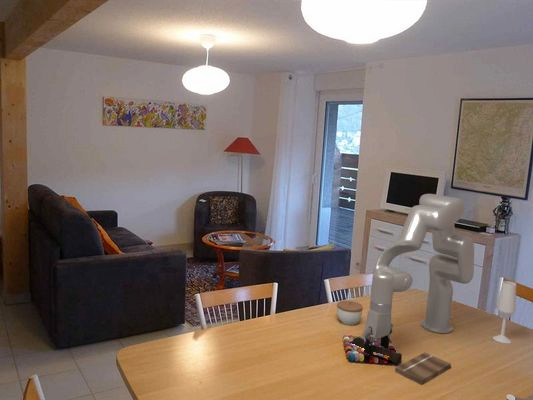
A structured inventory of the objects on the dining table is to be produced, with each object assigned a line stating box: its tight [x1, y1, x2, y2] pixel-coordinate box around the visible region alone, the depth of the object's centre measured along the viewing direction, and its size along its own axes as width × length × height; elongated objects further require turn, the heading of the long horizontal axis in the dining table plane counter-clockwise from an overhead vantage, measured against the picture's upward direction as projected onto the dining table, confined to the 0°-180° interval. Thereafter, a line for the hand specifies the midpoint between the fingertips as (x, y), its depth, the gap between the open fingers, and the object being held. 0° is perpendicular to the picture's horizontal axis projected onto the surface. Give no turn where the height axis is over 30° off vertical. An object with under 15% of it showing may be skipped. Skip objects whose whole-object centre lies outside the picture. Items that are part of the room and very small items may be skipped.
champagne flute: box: [492, 280, 517, 344], centre depth 184 cm, size 7×7×24 cm
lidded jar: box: [336, 300, 364, 326], centre depth 194 cm, size 11×11×9 cm
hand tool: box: [351, 336, 403, 366], centre depth 166 cm, size 19×4×5 cm, turn 50°
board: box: [394, 352, 452, 385], centre depth 157 cm, size 19×10×2 cm, turn 131°
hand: (376, 350), depth 166 cm, fingers open, 9 cm apart
